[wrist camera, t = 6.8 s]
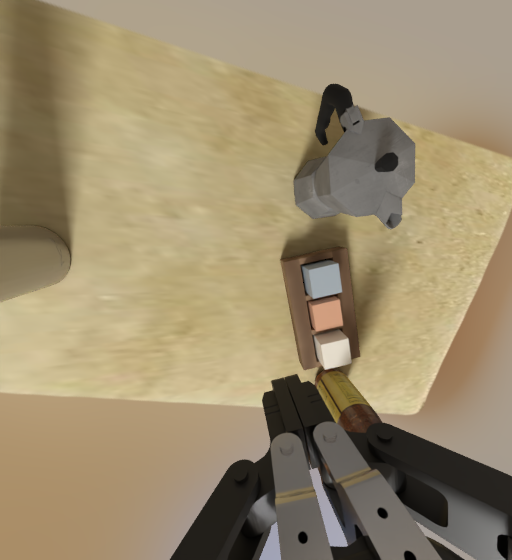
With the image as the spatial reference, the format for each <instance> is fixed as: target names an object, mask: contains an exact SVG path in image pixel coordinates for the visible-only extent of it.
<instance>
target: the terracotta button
mask: <svg viewBox="0 0 512 560" xmlns="http://www.w3.org/2000/svg"><path fill="white" fill-rule="evenodd" d="M306 302H307V308H308V314H309V320H310V324H311V325H312V327H313V328H314V329H315V331H316V332H317V331H322V330H326V329H330V328H334V327H339V326H343V320H342V313H341V306H340V299H338V298H337V297H335V296H334V295H330V296H326V297H321V298H317V299H313V300H308V301H306Z"/></svg>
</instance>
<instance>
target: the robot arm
mask: <svg viewBox="0 0 512 560" xmlns="http://www.w3.org/2000/svg"><path fill="white" fill-rule="evenodd" d="M69 268H70V254H69V250H68V248H67V246H66V244H65V243H64V242H63V240H62V239H61V238H60V237H59V236H58V235H56V234H55V233H54V232H52V231H50V230H49V229H46V228H43V227H40V226H0V302H3V301H6V300H9V299H12V298H15V297H18V296H21V295H24V294H27V293H30V292H33V291H36V290H39V289H42V288H45V287H48V286H51V285H54V284H56V283H58V282H60V281H61V280H62V279H63V278H64V277H65V276H66V275H67V273H68V271H69ZM284 378H285V380H284ZM284 378H280V379H276V380H272V381H271V383H272V387H273V391H269V392H265V393H264V396H263V399H262V402H263V407H264V412H265V416H266V421H267V426H268V431H269V436H270V441H271V443H270V448H269V450H268V452H267V453H266V455H265V456H264V457H263V458H261V459H260V460H259V461H257V462H255V463H253V462H251V461H249V460H239V461H237V462H235V463H233V464H232V465H231V466H230V467H229V468H228V470H227V471H226V473H225V475H224V476H223V478H222V479H221V481H220V482H219V484H218V485H217V487H216V488H215V490H214V492H213V493H212V495H211V496H210V498H209V499H208V501H207V503H206V504H205V506H204V507H203V509H202V510H201V512H200V513H199V515H198V516H197V518H196V520H195V521H194V523H193V524H192V526H191V527H190V529H189V531H188V532H187V534H186V535H185V537H184V538H183V540H182V541H181V543H180V544H179V546H178V548H177V549H176V551H175V552H174V554H173V555H172V557H171V559H170V560H259V558H260V556H261V553H262V551H263V548H264V546H265V543H266V541H267V538H268V536H269V533H270V530H271V526H272V525H273V524H274V523H275V522H277V525H278V534H279V543H280V552H281V560H464V559H463V558H461V557H460V556H458V555H457V554H455V553H454V552H453V551H451V550H450V549H448V548H446V547H445V546H444V545H442V544H440V543H439V542H437V541H435V540H433V539H431V538H429V537H426V536H425V535H424V533H423V532H422V531H421V529H420V528H419V526H418V525H417V524H416V522H418V523H420V524H421V525H423V526H424V527H426V528H427V529H429V530H431V531H432V532H434V533H435V534H437V535H438V536H440V537H442V538H443V539H445V540H446V541H448V542H450V543H451V544H453V545H454V546H456V547H457V548H459V549H460V550H462V551H464V552H465V553H467V554H468V555H470V556H472V557H473V558H475V559H476V560H512V476H510V475H508V474H505V473H503V472H501V471H498V470H496V469H494V468H491V467H489V466H486V465H484V464H482V463H479V462H477V461H474V460H472V459H470V458H468V457H465V456H463V455H460V454H458V453H456V452H453V451H451V450H449V449H446V448H444V447H442V446H439V445H437V444H435V443H432V442H429V441H427V440H425V439H423V438H420V437H418V436H416V435H413V434H411V433H408V432H406V431H404V430H401V429H399V428H397V427H394V426H392V425H390V424H386V423H374V424H372V425H370V426H369V427H368V428H367V431H366V433H361V432H350V431H347V430H344V429H343V428H342V427H341V426H340V425H338V424H337V423H336V422H335V420H334V418H333V417H332V415H331V413H330V411H329V409H328V408H327V406H326V404H325V402H324V400H323V398H322V397H321V395H320V393H319V391H318V389H317V388H316V386H315V385H313V384H312V383H311V382H309V381H307V382H303V383H301V381H300V379H299V377H298V375H297V374H295V375H291V376H287V377H284ZM309 462H310V463H309ZM310 464H311V467H312V469H314V468H318V470H319V473H320V476H321V481H322V486H323V488H324V491H325V493H326V495H327V497H328V499H329V502H330V504H331V506H332V508H333V511H334V513H335V515H336V517H337V520H338V522H339V524H340V526H341V528H342V531H343V533H344V535H345V538H346V540H347V544H348V546H347V547H333V546H330V545H329V542H328V537H327V533H326V530H325V526H324V522H323V518H322V515H321V511H320V507H319V503H318V499H317V495H316V492H315V490H314V487H313V484H312V479H311V476H310V472H309V470H310V469H311V468H310ZM414 520H415V521H416V522H415V521H414Z"/></svg>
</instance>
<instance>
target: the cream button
mask: <svg viewBox="0 0 512 560" xmlns="http://www.w3.org/2000/svg"><path fill="white" fill-rule="evenodd" d="M313 337H314V343H315V349H316V355H317V358H318V359H319V361H320V363H321V364H322V366H323V368H324V369H325V370H326V369H331V368H335V367H339V366H343V365H347V364H351V363H352V362H351V354H350V347H349V339H348V338H347V337H346V336H345V335H344V334H343V333H342V332H341V331H340V330H339V329H335V330H330V331H326V332H322V333H318V334H313Z"/></svg>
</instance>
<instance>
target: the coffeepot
mask: <svg viewBox="0 0 512 560" xmlns="http://www.w3.org/2000/svg"><path fill="white" fill-rule="evenodd" d="M334 109H336V111H337V114H338V117H339V121H340V123H341V126H342V128H343V130H344V132H345V133H344V134H343V135H342V137H341V138H340V139H339V141H338V142H337V143H336V145H335V146H334V148H333V149H332V150H331V152H330V153H329V154H328V156H327V157H322V158H318V159H314V160H310V161H308V162H307V163H306V164H305V166H304V167H303V168H302V170H301V171H300V173H299V174H298V175H297V177H296V178H295V179H294V195H295V202H296V205H297V206H298V207H299V208H300V209H301V210H302V211H303V212H305V213H306V214H308V215H309V216H310V217H311V218H312V219H316V218H323V217H330V216H335V215H337V214H339V213H344V214H348V215H351V216H355V217H359V216H368V215H375V216H377V217H378V218H379V219H380V221H381V222H382V223H383V224H384V225H385V226H386V227H387V228H388V229H393V228H395V227H396V226H397V225H398V224H399V223H400V222H401V220H402V218H401V215H402V198H403V196H404V195H405V194H406V193H407V191H408V190H409V189H410V188H411V187H412V185H413V184H414V183H415V143H414V142H413V141H412V140H411V139H410V138H409V137H408V136H407V135H406V134H405V133H404V132H403V131H402V130H401V128H400V127H399V126H398V125H397V124H396V123H395V122H394V121H393V120H392V119H391V118H390V117H389V118H381V119H373V120H365V121H364V120H363V117H362V115H361V113H360V110H359V108H358V105H357V106H355V107H354V106H353V102H352V96H351V93H350V92H349V90H348V89H347V88H345V87H343V86H341V85H339V84H330V85H328V86H327V87H326V89H325V91H324V92H323V96H322V101H321V106H320V111H319V115H318V120H317V124H316V129H315V133H316V136H317V138H318V139H319V141H320V142H321V144H322V145H326V144H327V143H328V141H327V138H326V133H325V129H326V128H327V127H328V125H329V123H330V117H331V115H332V113H333V111H334Z"/></svg>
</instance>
